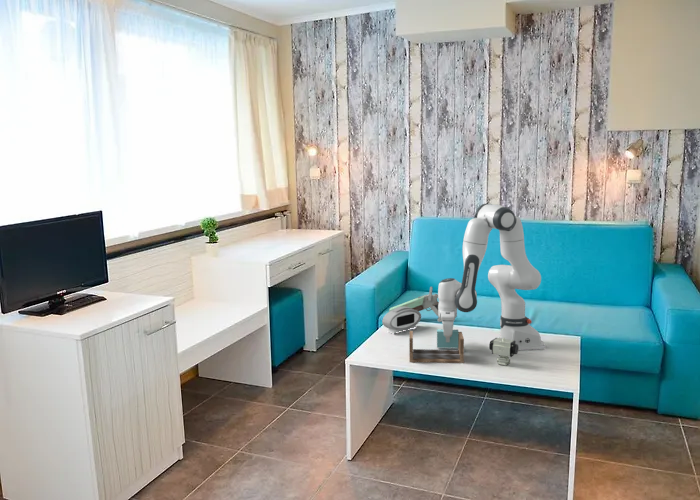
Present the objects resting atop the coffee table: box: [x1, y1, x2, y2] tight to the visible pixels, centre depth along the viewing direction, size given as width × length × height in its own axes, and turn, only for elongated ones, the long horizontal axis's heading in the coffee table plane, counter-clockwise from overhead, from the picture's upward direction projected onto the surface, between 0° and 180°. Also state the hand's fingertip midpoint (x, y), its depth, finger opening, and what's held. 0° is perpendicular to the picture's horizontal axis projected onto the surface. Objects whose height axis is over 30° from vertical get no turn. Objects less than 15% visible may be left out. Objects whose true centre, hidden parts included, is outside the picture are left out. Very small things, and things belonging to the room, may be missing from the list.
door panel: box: [436, 328, 459, 349], centre depth 285 cm, size 10×4×8 cm, turn 82°
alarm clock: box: [382, 307, 422, 333], centre depth 318 cm, size 23×6×13 cm, turn 129°
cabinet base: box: [408, 330, 465, 364], centre depth 271 cm, size 24×12×11 cm, turn 84°
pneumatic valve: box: [488, 337, 519, 367], centre depth 261 cm, size 6×12×12 cm, turn 55°
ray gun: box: [388, 286, 442, 323], centre depth 339 cm, size 7×32×20 cm, turn 81°
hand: (447, 340), depth 285 cm, fingers closed on door panel, 3 cm apart
